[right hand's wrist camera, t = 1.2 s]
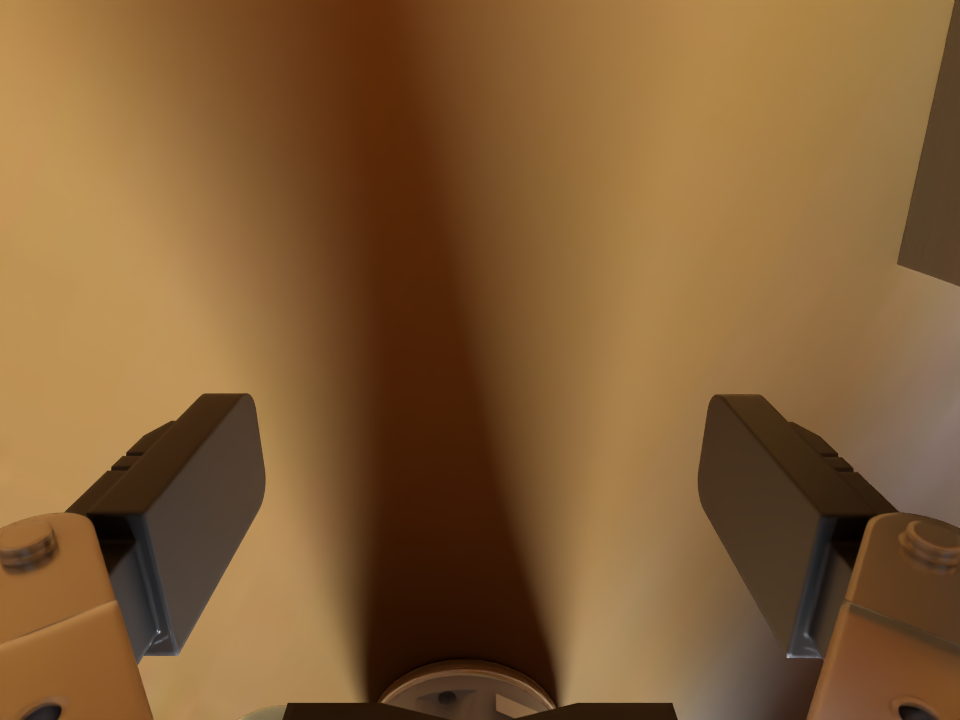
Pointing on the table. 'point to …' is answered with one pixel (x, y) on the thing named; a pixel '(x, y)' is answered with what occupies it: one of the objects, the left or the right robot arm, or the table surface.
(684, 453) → the table surface
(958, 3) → the box
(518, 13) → the table surface
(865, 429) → the table surface
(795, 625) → the right robot arm
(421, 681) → the left robot arm
